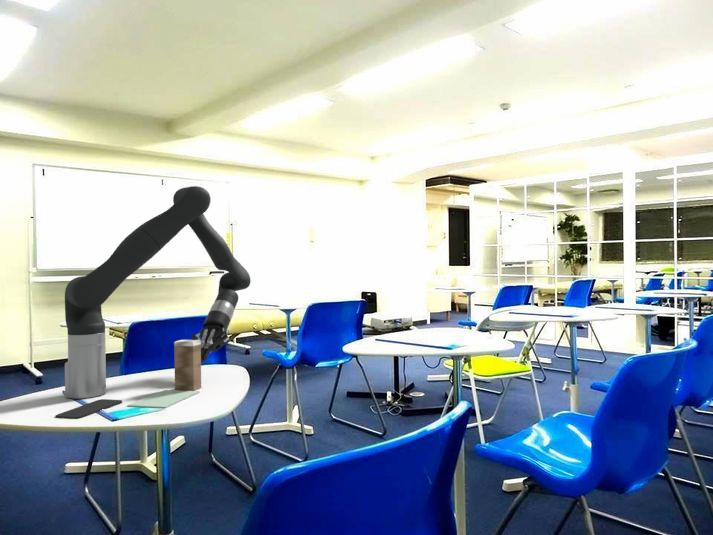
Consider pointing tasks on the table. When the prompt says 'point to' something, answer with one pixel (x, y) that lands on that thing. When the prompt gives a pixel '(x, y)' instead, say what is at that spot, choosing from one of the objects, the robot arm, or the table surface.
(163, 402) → the green mat
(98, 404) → the phone
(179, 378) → the walnut block
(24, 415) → the table surface
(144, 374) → the table surface
